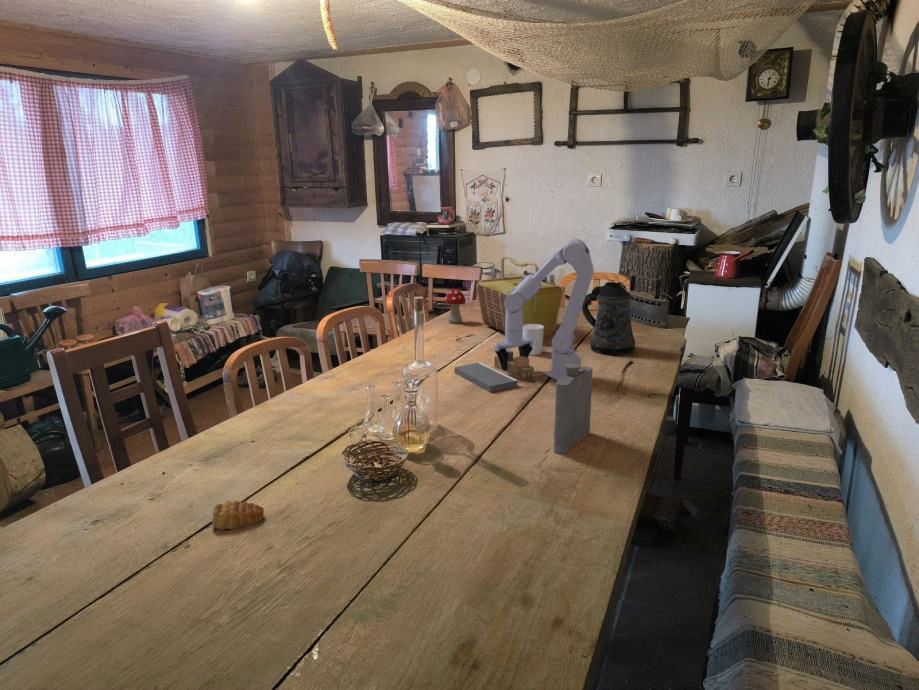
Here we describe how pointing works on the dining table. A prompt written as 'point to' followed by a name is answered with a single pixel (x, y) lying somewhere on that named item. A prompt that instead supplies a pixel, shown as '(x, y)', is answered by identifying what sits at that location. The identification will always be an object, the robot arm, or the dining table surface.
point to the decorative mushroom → (454, 305)
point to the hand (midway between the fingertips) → (513, 368)
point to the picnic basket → (535, 310)
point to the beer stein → (610, 320)
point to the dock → (486, 377)
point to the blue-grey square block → (510, 354)
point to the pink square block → (521, 361)
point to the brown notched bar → (516, 369)
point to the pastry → (236, 515)
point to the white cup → (534, 337)
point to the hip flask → (572, 407)
